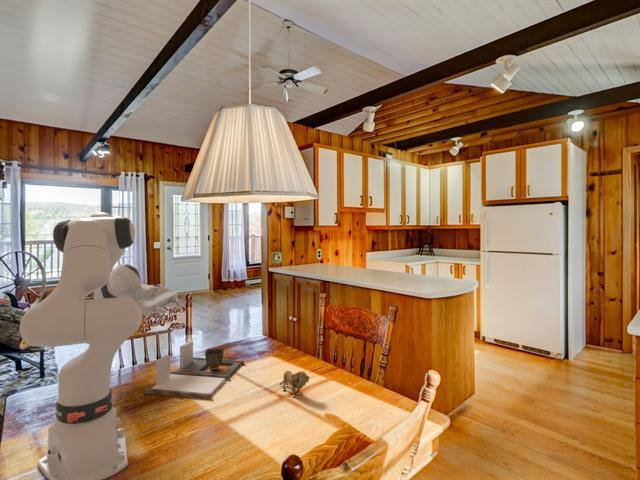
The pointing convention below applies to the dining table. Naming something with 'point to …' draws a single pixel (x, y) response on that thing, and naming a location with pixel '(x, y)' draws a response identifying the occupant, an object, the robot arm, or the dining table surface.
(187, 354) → the grey frame with upright
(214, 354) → the cup
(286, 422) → the dining table surface
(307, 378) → the lion figurine
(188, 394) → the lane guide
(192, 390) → the white platform with upright
